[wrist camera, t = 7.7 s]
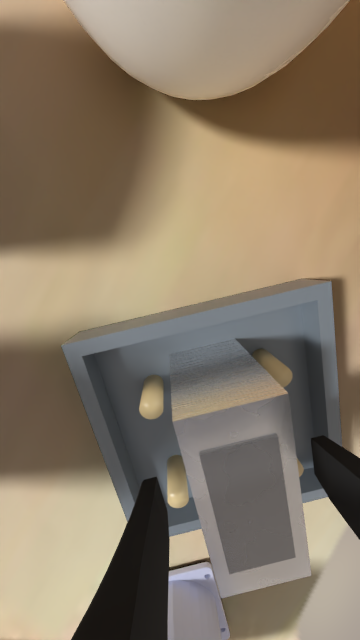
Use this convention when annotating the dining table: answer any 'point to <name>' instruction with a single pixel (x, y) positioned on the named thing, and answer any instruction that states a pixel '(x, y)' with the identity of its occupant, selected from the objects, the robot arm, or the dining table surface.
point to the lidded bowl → (203, 39)
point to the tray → (155, 387)
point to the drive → (240, 466)
